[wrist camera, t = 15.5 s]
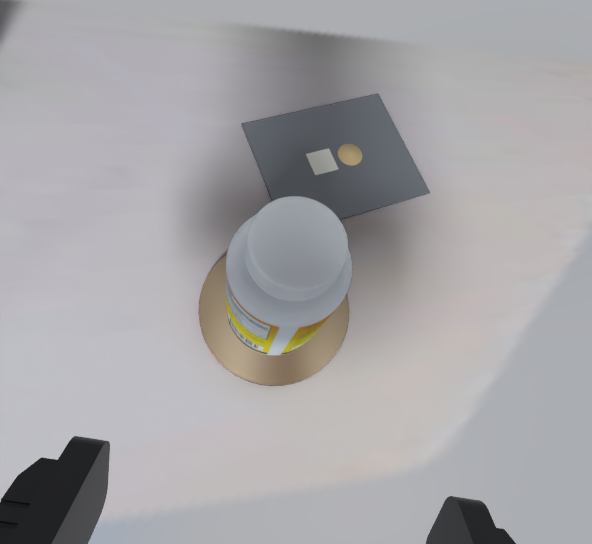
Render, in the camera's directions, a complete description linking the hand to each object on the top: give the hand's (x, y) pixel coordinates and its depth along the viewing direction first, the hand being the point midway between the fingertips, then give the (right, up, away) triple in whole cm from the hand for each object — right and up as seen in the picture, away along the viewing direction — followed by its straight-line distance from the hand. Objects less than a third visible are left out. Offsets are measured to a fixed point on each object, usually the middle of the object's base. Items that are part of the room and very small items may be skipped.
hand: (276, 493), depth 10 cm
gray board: (+3, +13, +21) cm, 25 cm away
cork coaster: (-1, +3, +17) cm, 17 cm away
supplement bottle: (-1, +3, +16) cm, 17 cm away
